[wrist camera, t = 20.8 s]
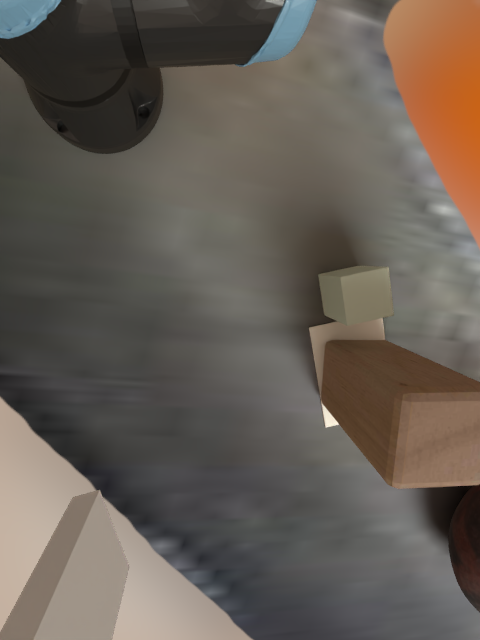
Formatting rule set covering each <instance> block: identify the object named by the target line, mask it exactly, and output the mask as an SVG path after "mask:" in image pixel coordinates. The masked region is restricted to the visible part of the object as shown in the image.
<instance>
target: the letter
mask: <svg viewBox="0 0 480 640" xmlns="http://www.w3.org/2000/svg"><path fill="white" fill-rule="evenodd" d="M309 332H310V338H311V344H312V350H313V356H314V362H315V368H316V374H317V380H318V386H319V392H320V398H321V392H322V379H323V365H324V352H325V345H326V342H328V341H331V340H385V334H384V326H383V318H380V319H376V320H371V321H367V322H362V323H358V324H353V325H349V326H346V325H344V324H342V323H340V322H338V321H336V322H331V323H327V324H322V325H318V326H313V327H309ZM321 404H322V401H321ZM322 410H323V417H324V423H325V427H330V426H334V425H339V424H338V422H337V421H336V420H335V419H334V417H333V416H332V415H331V414H330V412H329V411H328V410H327V409H326V407H325V406H324V405H323V404H322Z"/></svg>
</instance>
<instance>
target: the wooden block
mask: <svg viewBox="0 0 480 640" xmlns="http://www.w3.org/2000/svg"><path fill="white" fill-rule="evenodd" d="M321 401H322V404H323V405H324V406H325V407H326V409H327V410H328V411H329V412H330V414H331V415H332V416H333V417H334V419H335V420H336V421H337V422H338V424H339V425H340V426H341V427H342V428H343V430H344V431H345V432H346V433H347V435H348V436H349V437H350V438H351V440H352V441H353V442H354V443H355V444H356V446H357V447H358V448H359V449H360V451H361V452H362V453H363V454H364V456H365V457H366V458H367V459H368V461H369V462H370V463H371V464H372V465H373V467H374V468H375V469H376V470H377V472H378V473H379V474H380V475H381V477H382V478H383V479H384V480H385V482H386V483H387V484H388V485H390V486H392V487H395V488H398V489H403V488H425V487H447V486H469V485H479V484H480V382H478V381H475V380H473V379H471V378H469V377H467V376H464V375H462V374H460V373H458V372H455V371H453V370H451V369H449V368H446V367H444V366H442V365H440V364H438V363H435V362H433V361H431V360H429V359H426V358H424V357H422V356H420V355H417V354H415V353H413V352H411V351H409V350H406V349H404V348H402V347H400V346H397V345H395V344H393V343H391V342H388V341H386V340H331V341H328V342H326V345H325V352H324V365H323V379H322V392H321Z"/></svg>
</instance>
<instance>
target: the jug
mask: <svg viewBox="0 0 480 640" xmlns="http://www.w3.org/2000/svg"><path fill="white" fill-rule="evenodd" d="M448 541H449V553H450V558H451V563H452V567H453V570H454V574H455V576H456V579H457V582H458V584H459V586H460V588H461V590H462V591H463V593H464V595H465V596H466V598H467V599H468V600H469V602H470V603H471V604H472V605H473V606H474V607H475V608H476V609H477V610H478V611H479V612H480V484H479V485H473V486H472V487H471V488H470V489H469V490H468V491H467V493H466V494H465V495H464V497H463V498H462V500H461V501H460V503H459V504H458V506H457V508H456V510H455V512H454V514H453V517H452V520H451V524H450V528H449V535H448Z"/></svg>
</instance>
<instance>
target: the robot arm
mask: <svg viewBox="0 0 480 640" xmlns="http://www.w3.org/2000/svg"><path fill="white" fill-rule="evenodd" d="M316 1H317V0H0V57H1V58H2V59H3V60H4V61H5V62H6V63H7V64H8V65H9V66H10V67H11V68H12V69H13V70H14V71H15V72H17V73H18V74H19V75H20V76H21V77H22V78H23V80H24V82H25V85H26V88H27V91H28V93H29V96H30V98H31V100H32V102H33V104H34V106H35V108H36V109H37V111H38V112H39V114H40V115H41V117H42V118H43V119H44V120H45V122H46V123H47V124H48V125H49V126H50V127H51V128H52V129H53V130H54V131H55V132H57V133H58V134H59V135H60V136H61V137H63V138H64V139H65V140H66V141H68V142H69V143H71V144H73V145H74V146H76V147H79V148H81V149H83V150H86V151H90V152H94V153H102V154H109V153H117V152H121V151H125V150H127V149H130V148H132V147H133V146H135V145H137V144H138V143H140V142H141V141H142V140H143V139H144V138H145V137H146V136H147V135H148V134H149V133H150V132H151V130H152V129H153V127H154V126H155V124H156V122H157V120H158V117H159V115H160V112H161V108H162V102H163V82H162V76H161V72H160V68H164V67H185V66H207V65H229V64H235V65H236V66H239V67H245V66H246V65H251V64H252V63H255V62H265V61H274V60H278V59H280V58H282V57H284V56H286V55H287V54H288V53H290V52H291V51H292V50H293V48H294V47H295V46H296V45H297V43H298V42H299V40H300V39H301V37H302V35H303V33H304V31H305V29H306V27H307V25H308V23H309V20H310V18H311V15H312V13H313V10H314V7H315V4H316ZM128 570H129V564H128V562H127V559H126V556H125V554H124V551H123V549H122V546H121V544H120V541H119V539H118V536H117V534H116V531H115V528H114V526H113V523H112V521H111V518H110V515H109V513H108V510H107V508H106V505H105V502H104V500H103V497H102V495H101V492H100V490H97V491H94V492H90V493H87V494H83V495H79V496H76V497H73V498H72V500H71V502H70V503H69V505H68V508H67V509H66V511H65V513H64V515H63V517H62V518H61V520H60V522H59V524H58V526H57V528H56V530H55V531H54V533H53V535H52V537H51V539H50V541H49V543H48V545H47V546H46V548H45V550H44V552H43V554H42V556H41V558H40V559H39V561H38V563H37V565H36V567H35V569H34V570H33V573H32V574H31V576H30V578H29V580H28V582H27V583H26V585H25V587H24V589H23V591H22V593H21V595H20V597H19V598H18V600H17V602H16V604H15V606H14V608H13V610H12V611H11V613H10V615H9V617H8V619H7V621H6V623H5V624H4V626H3V628H2V630H1V632H0V640H112V636H113V633H114V628H115V624H116V620H117V616H118V612H119V607H120V603H121V599H122V594H123V591H124V587H125V582H126V578H127V574H128Z"/></svg>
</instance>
